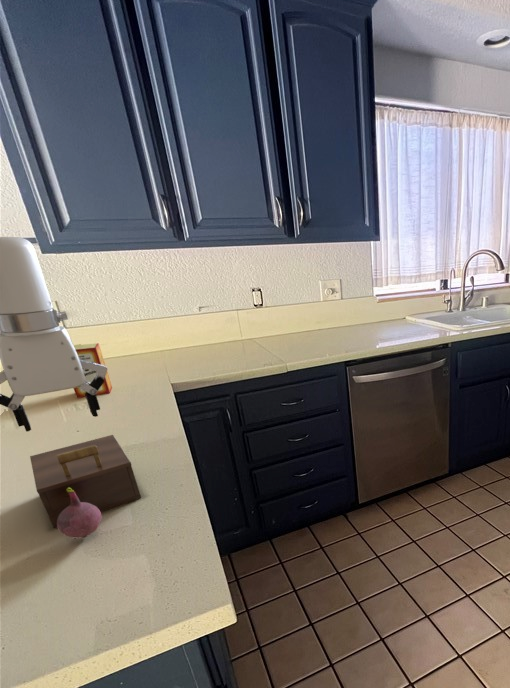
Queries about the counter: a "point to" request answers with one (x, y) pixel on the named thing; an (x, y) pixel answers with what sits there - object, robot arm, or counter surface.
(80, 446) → the lid
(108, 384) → the baking soda box
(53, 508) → the chest
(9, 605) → the counter surface
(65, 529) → the vegetable
